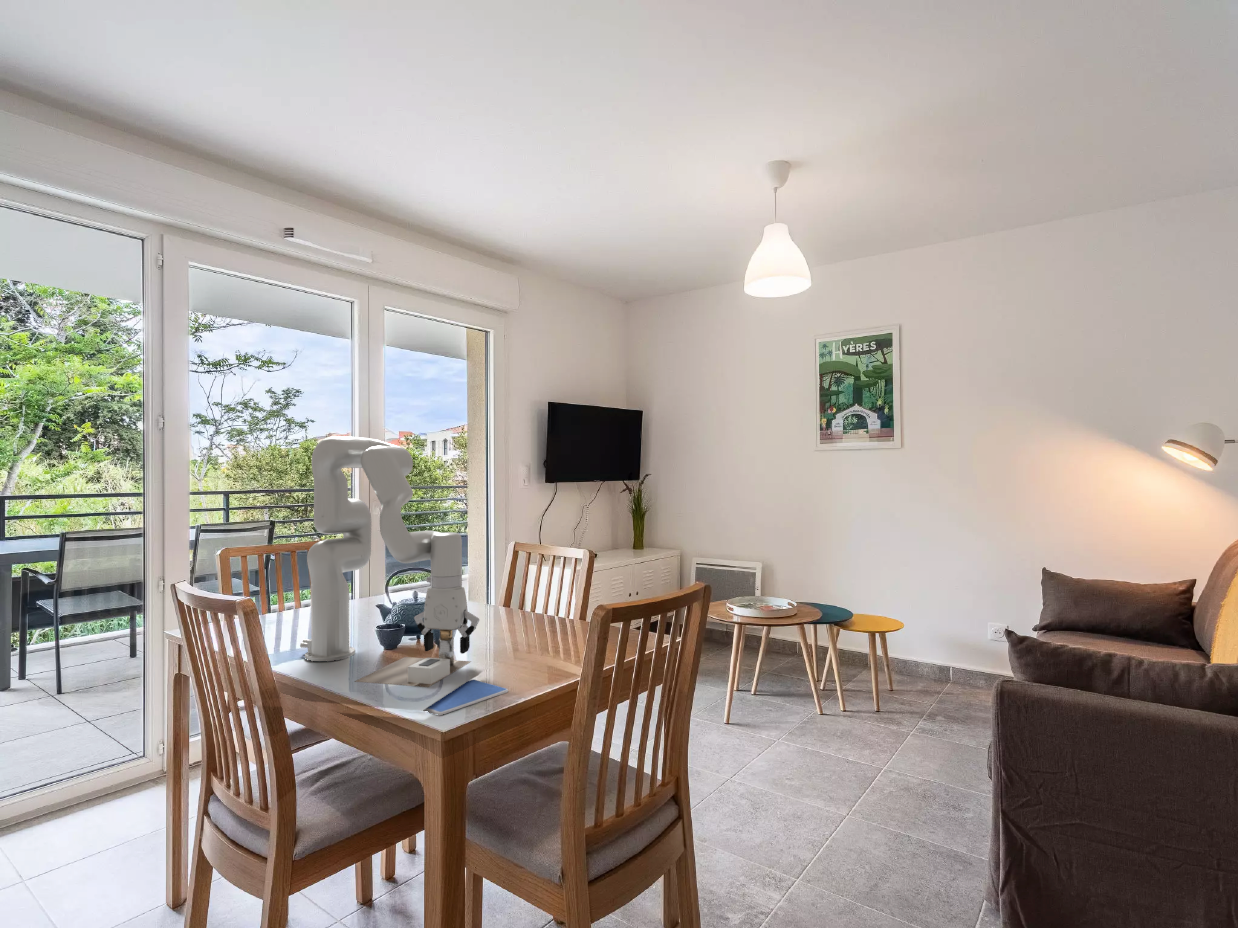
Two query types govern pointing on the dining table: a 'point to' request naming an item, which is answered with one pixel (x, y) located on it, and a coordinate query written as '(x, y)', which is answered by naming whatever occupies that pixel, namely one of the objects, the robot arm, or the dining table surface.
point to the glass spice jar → (446, 646)
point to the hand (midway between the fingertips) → (446, 650)
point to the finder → (428, 670)
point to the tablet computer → (465, 696)
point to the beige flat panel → (402, 673)
